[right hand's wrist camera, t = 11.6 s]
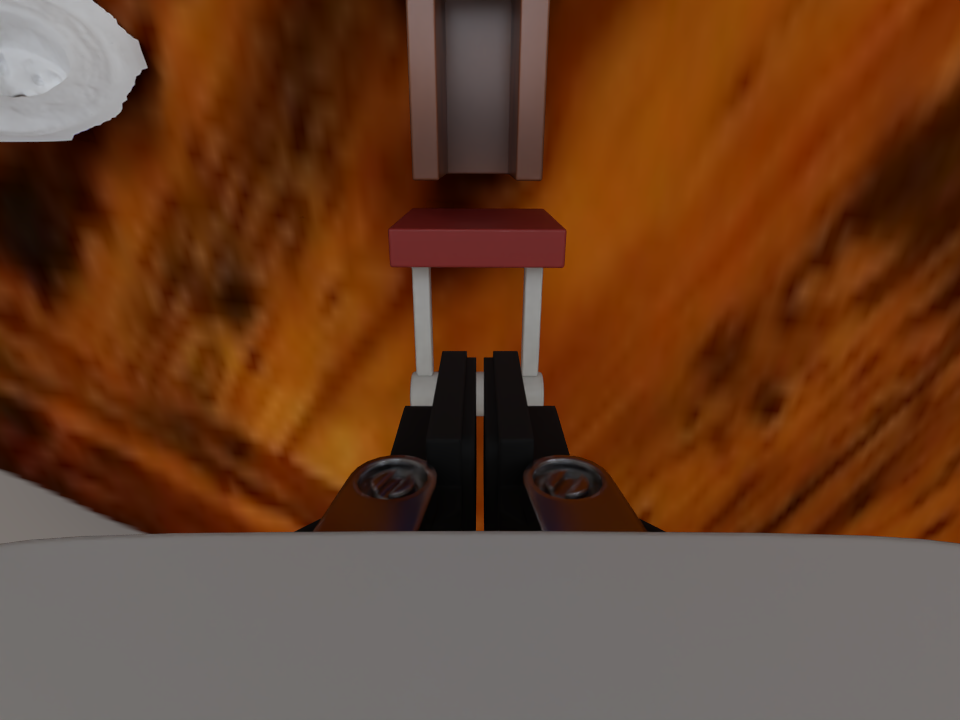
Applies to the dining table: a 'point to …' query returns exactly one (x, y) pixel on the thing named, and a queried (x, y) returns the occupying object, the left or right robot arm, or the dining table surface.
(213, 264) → the dining table surface
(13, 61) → the seashell
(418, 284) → the drawer
